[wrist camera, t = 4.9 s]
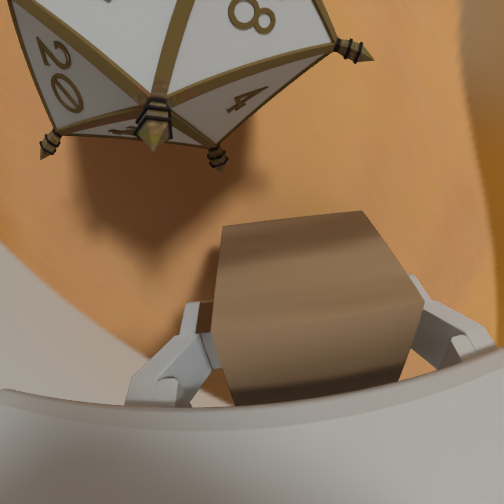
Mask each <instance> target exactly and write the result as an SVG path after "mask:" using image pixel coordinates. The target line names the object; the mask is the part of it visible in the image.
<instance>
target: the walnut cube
mask: <svg viewBox="0 0 504 504" xmlns="http://www.w3.org/2000/svg"><path fill="white" fill-rule="evenodd" d="M424 304H425V301H424V299H423V297H422V296H421V294H420V293H419V291H418V290H417V288H416V286H415V285H414V283H413V282H412V280H411V279H410V277H409V276H408V274H407V273H406V271H405V270H404V268H403V267H402V265H401V264H400V262H399V261H398V259H397V258H396V257H395V255H394V254H393V252H392V251H391V249H390V248H389V247H388V245H387V244H386V242H385V241H384V240H383V238H382V237H381V235H380V234H379V233H378V231H377V230H376V229H375V227H374V226H373V225H372V223H371V222H370V220H369V219H368V218H367V217H366V215H365V214H364V213H363V211H352V212H342V213H332V214H323V215H313V216H304V217H295V218H287V219H278V220H270V221H261V222H253V223H245V224H237V225H229V226H223V228H222V236H221V244H220V252H219V260H218V269H217V277H216V286H215V295H214V304H213V314H212V323H211V335H212V338H213V341H214V344H215V348H216V351H217V354H218V357H219V360H220V363H221V366H222V369H223V372H224V375H225V378H226V381H227V384H228V386H229V389H230V392H231V395H232V398H233V401H234V403H235V406H246V405H258V404H269V403H279V402H288V401H296V400H303V399H311V398H317V397H324V396H330V395H336V394H341V393H347V392H352V391H357V390H362V389H367V388H372V387H376V386H380V385H385V384H389V383H393V382H397V381H398V380H399V377H400V375H401V372H402V370H403V367H404V364H405V362H406V359H407V356H408V354H409V351H410V348H411V345H412V342H413V339H414V336H415V333H416V330H417V327H418V324H419V321H420V317H421V314H422V311H423V307H424Z"/></svg>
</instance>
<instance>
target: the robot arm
mask: <svg viewBox="0 0 504 504" xmlns="http://www.w3.org/2000/svg"><path fill="white" fill-rule="evenodd" d="M408 276H409V277H410V279H411V280H412V282H413V283H414V285H415V286H416V288H417V290H418V291H419V293H420V294H421V296H422V297H423V299H424V301H425V304H424V307H423V311H422V314H421V317H420V321H419V324H418V327H417V330H416V333H415V336H414V339H413V342H412V345H411V348H412V349H413V350H414V351H415V352H417V353H418V354H419V355H420V356H421V357H423V358H424V359H425V360H426V361H428V362H429V363H430V364H431V365H433V366H434V367H435V368H436V369H437V371H433V372H430V373H427V374H423V375H420V376H416V377H412V378H409V379H405V380H401V381H397V382H393V383H389V384H385V385H380V386H376V387H372V388H367V389H362V390H357V391H352V392H347V393H341V394H336V395H330V396H324V397H317V398H311V399H303V400H296V401H288V402H279V403H269V404H258V405H246V406H230V407H205V408H192V406H191V404H190V401H191V400H192V398H193V397H194V395H195V394H196V393H197V391H198V390H199V388H200V387H201V386H202V384H203V383H204V381H205V380H206V379H207V377H208V376H209V374H210V373H211V372H212V369H217V368H222V366H221V363H220V360H219V357H218V354H217V351H216V348H215V344H214V341H213V338H212V335H211V323H212V314H213V304H214V300H205V301H194V302H187V303H186V305H185V308H184V313H183V318H182V323H181V328H180V333H179V335H175V336H174V337H173V338H172V339H171V340H170V341H169V342H168V343H167V344H166V345H165V346H164V347H163V348H162V349H161V350H159V351H158V352H157V353H156V354H155V355H154V356H153V357H152V358H151V359H150V360H149V361H148V362H147V363H146V364H145V365H144V366H143V367H142V368H141V369H140V370H139V371H138V372H137V373H136V374H135V375H134V376H133V377H132V378H131V382H130V385H129V389H128V393H127V397H126V401H125V405H124V406H120V405H106V404H97V403H87V402H79V401H72V400H65V399H58V398H52V397H46V396H40V395H34V394H30V393H25V392H20V391H16V390H12V389H2V390H0V504H504V347H501V348H499V349H498V348H497V346H496V345H495V343H494V341H493V340H492V338H491V337H490V335H489V334H488V332H487V331H486V329H485V327H484V326H482V325H480V324H478V323H477V322H475V321H473V320H471V319H469V318H467V317H466V316H464V315H462V314H460V313H458V312H456V311H455V310H453V309H451V308H449V307H447V306H445V305H443V304H441V303H440V302H438V301H436V300H433V301H432V300H431V299H430V297H429V296H428V294H427V293H426V291H425V290H424V288H423V287H422V285H421V284H420V282H419V281H418V280H417V278H416V277H415V275H414V274H412V273H410V274H408Z"/></svg>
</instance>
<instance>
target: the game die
mask: <svg viewBox="0 0 504 504" xmlns="http://www.w3.org/2000/svg"><path fill="white" fill-rule="evenodd" d="M7 1H8V5H9V9H10V13H11V16H12V20H13V23H14V26H15V30H16V33H17V36H18V39H19V42H20V45H21V48H22V51H23V54H24V57H25V59H26V62H27V65H28V68H29V70H30V73H31V76H32V78H33V81H34V83H35V86H36V88H37V91H38V93H39V96H40V98H41V100H42V103H43V105H44V107H45V110H46V112H47V114H48V117H49V119H50V121H51V123H52V125H53V130H52V131H51V132H50V133H49V134H48V135H47V134H45V138H44V140H43V141H40V142H39V143H40V146H41V151H40V160H42V159H43V158H45V157H47V156H49V155H53V154H54V153H55V152H56V148H57V147H58V146H59V145H60V143H61V142H60V139H61V137H62V136H84V137H102V138H116V139H128V140H139V141H143V142H145V143H146V145H147V146H148V147H149V148H150V149H151V150H152V151H153V152H154V151H155V150H156V149H157V148H158V147H160V146H161V145H162V144H163V143H168V144H176V145H184V146H192V147H199V148H206V149H208V155H207V157H208V158H209V160H210V162H209V164H210V165H211V167H212V168H215V169H217V170H218V171H219V172H221V173H222V174H223V171H224V167H225V164H226V162H227V161H228V157H226V156H225V153H226V151H225V150H222V148H221V147H220V143H221V142H222V141H223V140H224V139H226V138H227V137H228V136H229V135H230V134H231V133H232V132H233V131H234V130H236V129H237V128H238V127H239V126H240V125H241V124H242V123H244V122H245V121H246V120H247V119H248V118H249V117H250V116H252V115H253V114H254V113H255V112H256V111H258V110H259V109H260V108H261V107H262V106H263V105H265V104H266V103H267V102H268V101H269V100H271V99H272V98H273V97H274V96H276V95H277V94H278V93H279V92H281V91H282V90H283V89H284V88H286V87H287V86H288V85H289V84H291V83H292V82H293V81H294V80H296V79H297V78H298V77H300V76H301V75H302V74H303V73H305V72H306V71H307V70H309V69H310V68H311V67H313V66H314V65H315V64H317V63H318V62H319V61H321V60H322V59H323V58H325V57H326V56H328V55H329V54H330V53H332V52H338V53H339V54H341V55H342V56H343V57H344V59H347V58H348V59H350V60H352V61H353V62H354V63H355V64H356V63H357V62H363V61H373V60H374V59H373V57H372V56H371V55H370V54H369V52H368V51H367V50H366V49H365V47H364V46H363V42H360V44H359V43H356V42H353V39H350V40H341V39H339V38H338V37H337V35H336V32H335V30H334V27H333V25H332V22H331V20H330V18H329V15H328V13H327V11H326V8H325V6H324V4H323V2H322V0H7Z"/></svg>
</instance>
